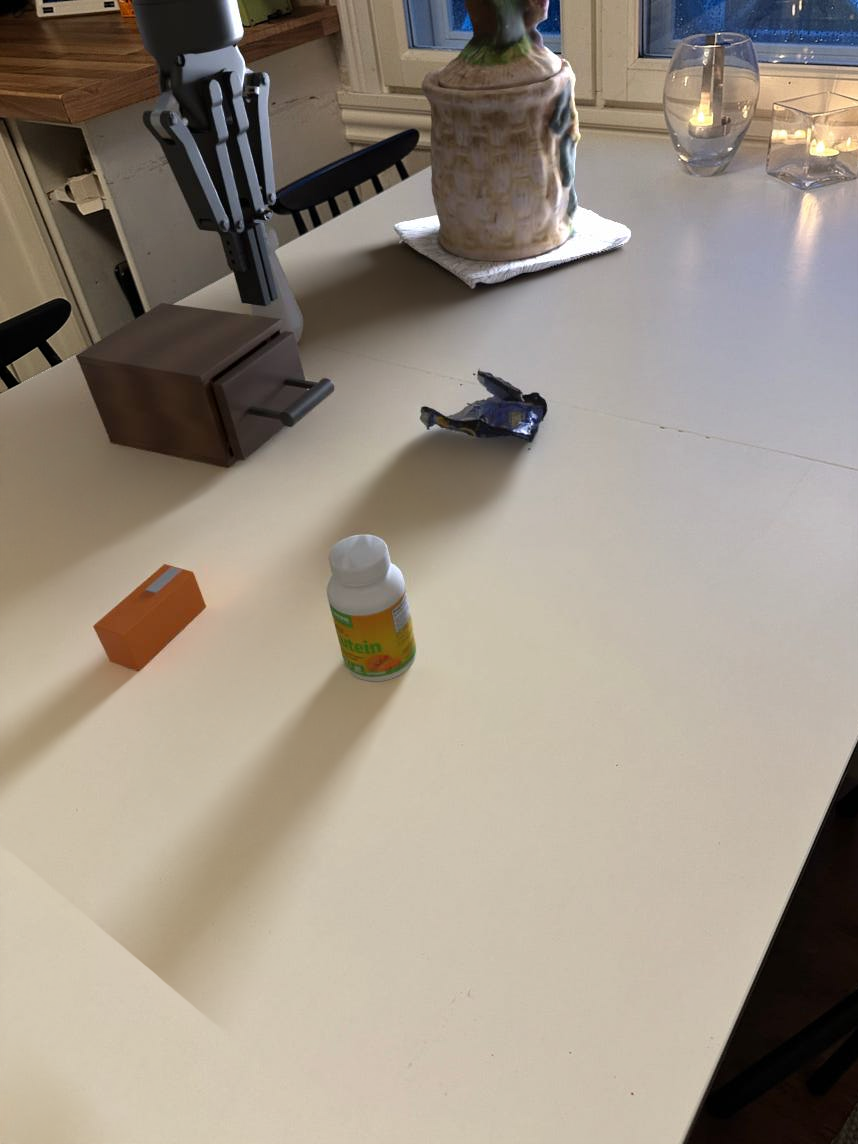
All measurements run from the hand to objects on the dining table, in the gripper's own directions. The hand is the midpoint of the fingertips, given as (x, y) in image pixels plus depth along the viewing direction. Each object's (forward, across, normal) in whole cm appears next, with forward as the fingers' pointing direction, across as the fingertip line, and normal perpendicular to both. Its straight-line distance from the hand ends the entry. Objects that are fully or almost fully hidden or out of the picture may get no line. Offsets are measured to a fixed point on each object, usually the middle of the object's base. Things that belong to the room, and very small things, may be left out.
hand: (259, 300), depth 85 cm
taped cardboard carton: (+14, -28, -7) cm, 32 cm away
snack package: (+15, +8, -18) cm, 24 cm away
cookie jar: (+15, +54, +2) cm, 56 cm away
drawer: (+14, 0, +6) cm, 15 cm away
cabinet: (+14, 0, +11) cm, 18 cm away
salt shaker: (+15, +19, +15) cm, 28 cm away
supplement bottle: (+15, -24, -25) cm, 37 cm away
